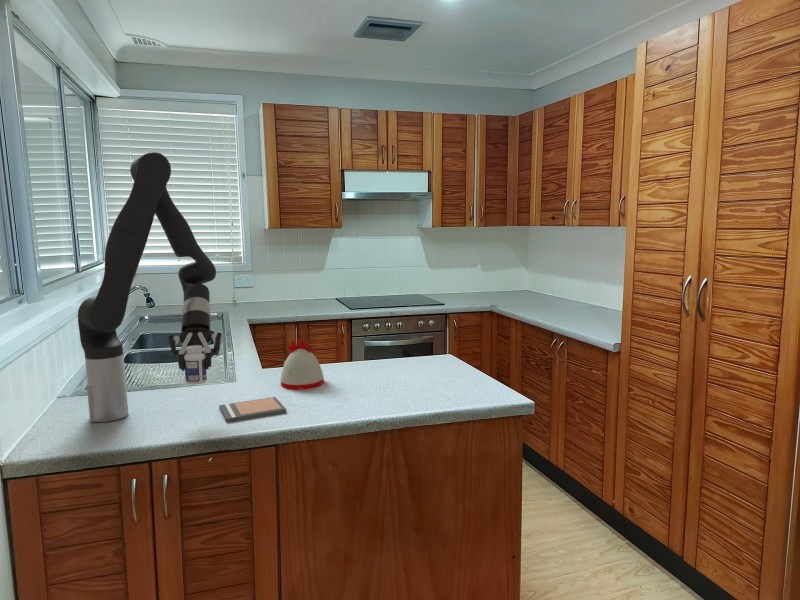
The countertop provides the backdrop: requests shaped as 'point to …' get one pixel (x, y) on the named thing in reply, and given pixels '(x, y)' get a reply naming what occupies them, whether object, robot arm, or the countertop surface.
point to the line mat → (251, 409)
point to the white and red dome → (301, 369)
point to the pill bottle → (195, 365)
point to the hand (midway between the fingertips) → (195, 368)
